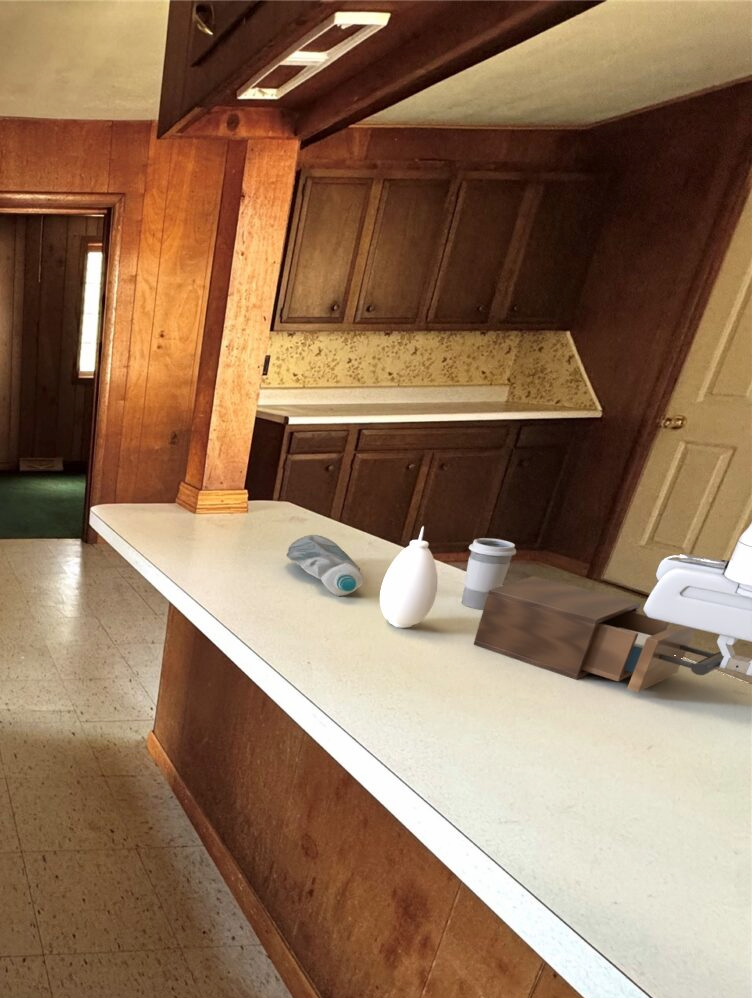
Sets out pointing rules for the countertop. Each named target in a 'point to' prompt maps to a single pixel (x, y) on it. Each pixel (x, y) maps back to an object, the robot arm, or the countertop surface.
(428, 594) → the white air blower bulb
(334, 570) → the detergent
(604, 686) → the countertop surface
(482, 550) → the cup
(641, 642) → the plastic tub
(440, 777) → the countertop surface
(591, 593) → the cabinet
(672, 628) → the drawer
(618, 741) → the countertop surface
